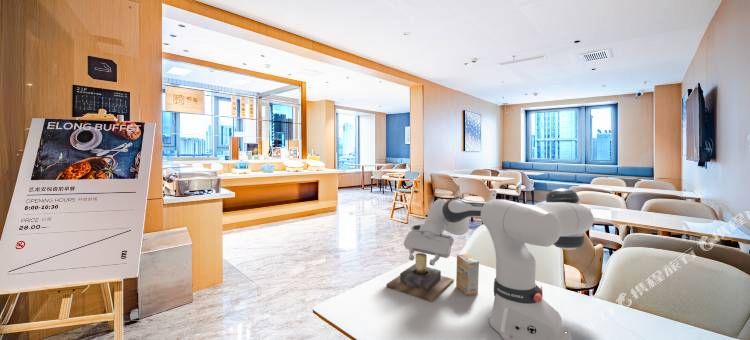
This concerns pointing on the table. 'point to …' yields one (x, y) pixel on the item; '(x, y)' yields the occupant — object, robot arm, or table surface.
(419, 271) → the brass plug
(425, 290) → the socket board
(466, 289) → the supplement box
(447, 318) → the table surface
